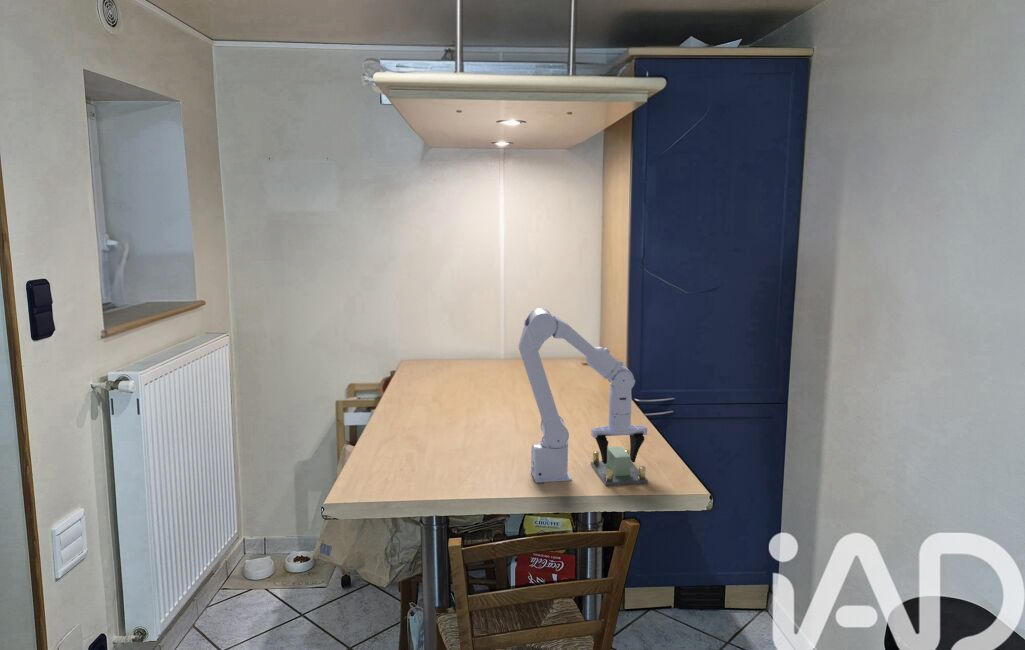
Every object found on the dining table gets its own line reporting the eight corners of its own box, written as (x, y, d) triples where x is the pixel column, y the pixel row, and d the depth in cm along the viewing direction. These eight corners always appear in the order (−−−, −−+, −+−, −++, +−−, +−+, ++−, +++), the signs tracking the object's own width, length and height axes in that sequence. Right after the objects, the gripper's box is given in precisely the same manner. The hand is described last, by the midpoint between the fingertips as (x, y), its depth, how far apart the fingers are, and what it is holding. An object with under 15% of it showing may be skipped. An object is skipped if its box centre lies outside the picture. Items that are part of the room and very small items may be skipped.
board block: (615, 476, 180) (615, 457, 179) (606, 464, 187) (606, 447, 187) (630, 475, 180) (630, 456, 179) (620, 464, 188) (620, 446, 187)
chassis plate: (605, 486, 176) (606, 471, 175) (590, 465, 190) (590, 451, 189) (647, 483, 177) (648, 468, 177) (629, 462, 192) (629, 449, 191)
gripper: (641, 406, 186) (639, 454, 188) (588, 408, 184) (587, 457, 186) (650, 414, 179) (648, 464, 181) (596, 416, 177) (594, 467, 179)
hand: (618, 461), depth 183 cm, fingers open, 7 cm apart
